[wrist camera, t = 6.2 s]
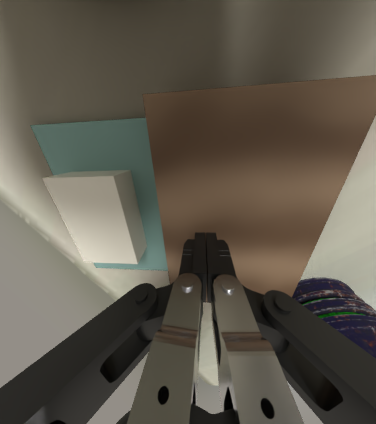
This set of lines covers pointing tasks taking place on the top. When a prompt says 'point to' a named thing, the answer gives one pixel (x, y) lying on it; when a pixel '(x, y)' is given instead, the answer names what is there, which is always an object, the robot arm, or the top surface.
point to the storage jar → (340, 310)
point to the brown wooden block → (256, 169)
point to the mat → (107, 161)
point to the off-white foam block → (100, 214)
